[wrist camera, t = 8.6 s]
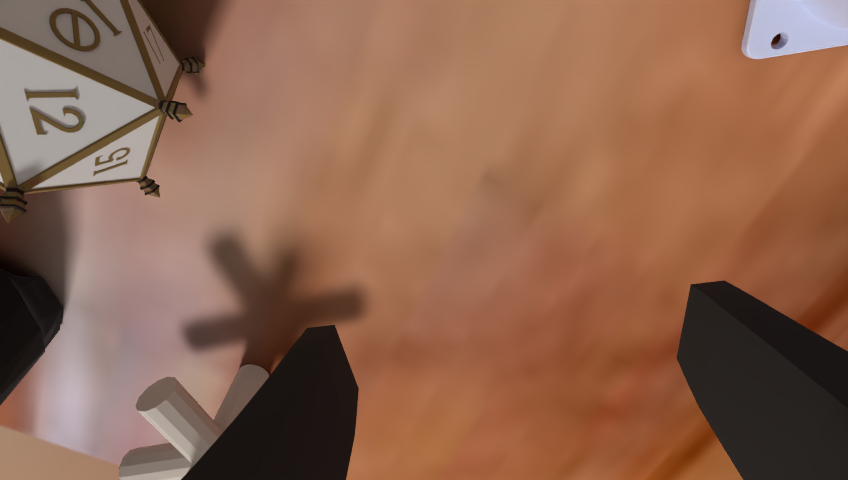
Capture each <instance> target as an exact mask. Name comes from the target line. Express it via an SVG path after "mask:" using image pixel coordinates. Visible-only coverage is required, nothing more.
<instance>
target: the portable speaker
mask: <svg viewBox="0 0 848 480" xmlns="http://www.w3.org/2000/svg"><path fill="white" fill-rule="evenodd" d="M61 316H62V307H61V305H60V304H59V302H58V301H57V299H56V298H55V296H54V295H53V294H52V292H51V291H50V289H49V288H48V286H47V285H46V283H45V282H44V280H43V279H42V278H38V277H31V276H16V275H13V274H11V273H9V272H7V271H5V270H3V269H0V405H1V404H2V403H3V402H4V400H5V399H6V398H7V397H8V396H9V394H10V393H11V392H12V391H13V390H14V388H15V387H16V386H17V385H18V383H19V382H20V381H21V380H22V379H23V377H24V376H25V375H26V374H27V373H28V371H29V370H30V369H31V368H32V367H33V365H34V364H35V363H36V362H37V360H38V359H39V358H40V357H41V356H42V354H43V353H44V352H45V348H46V347H47V346H48V344H49V343H50V342H51V340H52V339H53V338H54V337H55V335H56V334H57V333H58V331H59V330H60V323H61Z"/></svg>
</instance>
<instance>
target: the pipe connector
mask: <svg viewBox="0 0 848 480" xmlns="http://www.w3.org/2000/svg"><path fill="white" fill-rule="evenodd" d="M268 377H269V374H268V372H267V371H266V370H265V369H263V368H262V367H260V366H257V365H251V364H249V365H244V366H242V367H240V369H239V371H238V373H237V375H236V376H235V378H234V380H233V382H232V384H231V386H230V388H229V390H228V392H227V394H226V396H225V398H224V400H223V402H222V404H221V406H220V408H219V410H218V412H217V414H216V416H215V418H214V420H213V419H212V418H211V417H210V416H209V415H208V414H207V413H206V412H205V411H204V409H203V408H202V407H201V406H200V405H199V404H198V403H197V402H196V401H195V399H194V398H193V397H192V396H191V395H190V394H189V393H188V392H187V391H186V389H185V388H184V387H183V386H182V385H181V384H180V383H179V382H178V380H177V379H176V378H175V377H166V378H164V379H161V380H158V381H157V382H155V383H154V384H152V385H151V386H150V387H148V388H147V389H146V390H145V391H144V392H143V393H142V395H141V396H140V397H139V399H138V401H137V403H136V408H137V411H138V412H139V413H140V414H141V415H142V416H143V417H144V418H146V419H147V420H148V421H149V422H150V423H151V424H152V425H153V426H154V427H155V428H156V429H157V430H158V431H159V432H160V433H161V434H162V435H163V436H164V437H165V438H166V439H167V440H168V441H169V442H170V443H166V444H159V445H153V446H147V447H141V448H136V449H133V450H130V451H129V452H128V453H127V454H126V455H125V456H124V457H123V459H122V462H121V464H120V467H119V478H120V479H121V480H181V479H182V478H183V477H184V476H185V475H186V474H187V472H188V471H189V470H190V469H191V468H192V467H193V466H194V465H195V464H196V463H197V462H198V461H199V459H200V458H201V457H202V456H203V455H204V454H205V452H206V451H207V450H208V449H209V448H210V447H211V446H212V444H213V443H214V442H215V441H216V440H217V439H218V438H219V436H220V435H221V434H222V433H223V432H224V431H225V430H226V428H227V427H228V426H229V425H230V424H231V423H232V422H233V420H234V419H235V418H236V417H237V416H238V414H239V413H240V412H241V411H242V410H243V408H244V407H245V406H246V405H247V403H248V402H249V401H250V400H251V398H252V397H253V396H254V395H255V394H256V392H257V391H258V390H259V389H260V387H261V386H262V385H263V384H264V382H265V381H266V380H267V379H268Z"/></svg>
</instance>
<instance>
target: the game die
mask: <svg viewBox="0 0 848 480" xmlns="http://www.w3.org/2000/svg"><path fill="white" fill-rule="evenodd" d="M204 66H205V65H204V64H202V63H200V62H199V61H197V60H196V59H195V58H194V57H192V58H191V59H188V58H185V60H182V61H179V59H178V58H177V56H176V55H175V53H174V52H173V50H172V49H171V47H170V46H169V44H168V42H167V41H166V39H165V38H164V36H163V35H162V33H161V32H160V30H159V29H158V27H157V26H156V24H155V22H154V21H153V19H152V18H151V16H150V15H149V13H148V12H147V10H146V9H145V7H144V6H143V4H142V2H141V1H140V0H0V189H2V190H3V191H5V192H6V193H5V194H4V196H0V203H1V204H0V212H1V213H2V215H3V216H4V218H5V220H6V221H7V223H8V224H9V223H10V222H11V221H12V220H14V219H15V218H16V217H18V216H19V215H20V214H23V213H26V212H27V210H25V209H24V206H25V205H26V204H27V202H26V201H24V197H23V195H24V194H32V193H40V192H49V191H57V190H66V189H74V188H83V187H91V186H100V185H108V184H117V183H126V182H134V181H137V182H138V183H139V184H140V186H141V187H140V189H141V190H144V192H145V195H147V194H148V195H152V196H156V197H160V194H159V187H160V186H159V185H157V184H155V183H154V182H155V181H154V180H152V179H149V178H147V176H146V174H147V171H148V169H149V166H150V163H151V160H152V157H153V154H154V151H155V148H156V146H157V143H158V140H159V137H160V134H161V131H162V128H163V125H164V122H165V120H166V117H167V115H168V116H169V117H170V118H171V119H172V120H173V119H174V118H175V119H177V121H178V122H181V121H182V120H183V119H185V118H187V117H190V116H192V115H193V114H192V113H191V112H190V110H189V109H188V108H187V106H186V103H179V102H177V101H172V99H173V96H174V94H175V91H176V88H177V85H178V82H179V79H180V76H181V73H182V71H186V72H187V73H199V70H201V69H202V68H203V67H204Z"/></svg>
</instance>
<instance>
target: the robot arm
mask: <svg viewBox="0 0 848 480" xmlns="http://www.w3.org/2000/svg"><path fill="white" fill-rule="evenodd" d="M779 33H780V34H781V38H780V40H779V42H778V43H777V44H776V45H775V46H773V47H771V41H772V39H773V38H774V37H775V36H776V35H777V34H779ZM844 45H848V0H751V2H750V7H749V11H748V16H747V21H746V26H745V31H744V36H743V41H742V52H743V54H744V55H745V56H747V57H749V58H752V59H762V58H769V57H775V56H781V55H787V54H794V53H800V52H806V51H812V50H819V49H825V48H831V47H837V46H844ZM677 360H678V362H679V364H680V367H681V369H682V371H683V373H684V376H685V378H686V380H687V383H688V385H689V387H690V389H691V391H692V393H693V395H694V397H695V400H696V402H697V404H698V406H699V408H700V409H701V411H702V413H703V414H704V416H705V418H706V419H707V421H708V423H709V424H710V426H711V428H712V429H713V431H714V433H715V434H716V436H717V438H718V439H719V441H720V442H721V444H722V446H723V447H724V449H725V451H726V452H727V454H728V455H729V457H730V459H731V460H732V462H733V464H734V465H735V467H736V468H737V470H738V472H739V473H740V475H741V476H742V478H743V480H848V351H846V350H844V349H842V348H841V347H839V346H837V345H835V344H833V343H832V342H830V341H828V340H826V339H825V338H823V337H821V336H820V335H818V334H816V333H814V332H813V331H811V330H809V329H807V328H806V327H804V326H802V325H801V324H799V323H797V322H796V321H794V320H792V319H790V318H789V317H787V316H785V315H784V314H782V313H780V312H778V311H777V310H775V309H773V308H772V307H770V306H768V305H767V304H765V303H763V302H761V301H760V300H758V299H756V298H755V297H753V296H751V295H749V294H748V293H746V292H744V291H742V290H741V289H739V288H737V287H735V286H733V285H731V284H730V283H728V282H726V281H717V282H708V283H699V284H691V287H690V292H689V297H688V302H687V307H686V313H685V318H684V323H683V328H682V333H681V338H680V344H679V349H678V354H677ZM357 402H358V386H357V383H356V381H355V378H354V375H353V373H352V370H351V367H350V365H349V362H348V359H347V357H346V354H345V351H344V349H343V346H342V344H341V341H340V338H339V336H338V333H337V330H336V328H335V325H330V326H321V327H313V328H307V329H306V330H305V332H304V333H303V334H302V335H301V336H300V338H299V339H298V340H297V342H296V343H295V344H294V345H293V347H292V348H291V349H290V350H289V352H288V353H287V354H286V356H285V357H284V358H283V359H282V361H281V362H280V363H279V364H278V366H277V367H276V368H275V370H274V371H273V372H272V373H271V375H270V376H269V377H268V379H267V380H266V381H265V382H264V384H263V385H262V386H261V387H260V389H259V390H258V391H257V392H256V394H255V395H254V396H253V397H252V398H251V400H250V401H249V402H248V403H247V405H246V406H245V407H244V408H243V410H242V411H241V412H240V413H239V414H238V416H237V417H236V418H235V419H234V420H233V422H232V423H231V424H230V425H229V426H228V427H227V428H226V430H225V431H224V432H223V433H222V434H221V435H220V436H219V438H218V439H217V440H216V441H215V442H214V443H213V444H212V446H211V447H210V448H209V449H208V450H207V451H206V452H205V454H204V455H203V456H202V457H201V458H200V459H199V461H198V462H197V463H196V464H195V465H194V466H193V467H192V468H191V469H190V470H189V471H188V472H187V474H186V475H185V476H184V477H183V478H182V479H181V480H346V476H347V471H348V466H349V461H350V456H351V451H352V446H353V441H354V436H355V426H356V415H357Z"/></svg>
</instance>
